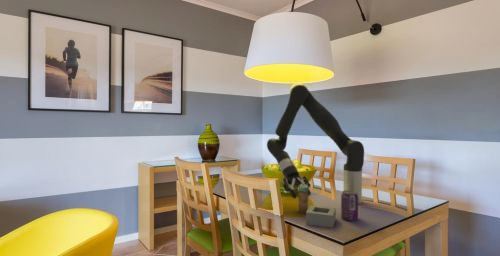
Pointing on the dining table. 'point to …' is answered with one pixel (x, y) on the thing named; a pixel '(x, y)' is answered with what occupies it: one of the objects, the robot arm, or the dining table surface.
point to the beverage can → (349, 205)
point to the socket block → (321, 216)
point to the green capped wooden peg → (303, 199)
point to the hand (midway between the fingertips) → (302, 196)
